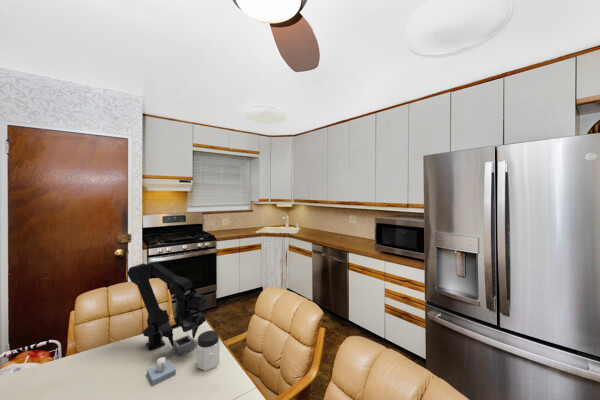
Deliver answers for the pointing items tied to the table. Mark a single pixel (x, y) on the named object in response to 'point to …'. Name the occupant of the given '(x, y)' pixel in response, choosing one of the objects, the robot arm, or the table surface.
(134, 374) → the table surface
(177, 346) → the collar
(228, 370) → the table surface
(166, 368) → the shaft block
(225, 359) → the table surface
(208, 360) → the jar
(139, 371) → the table surface
